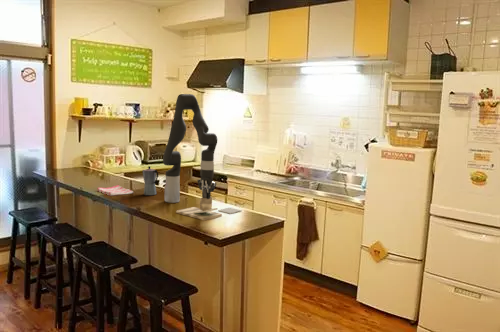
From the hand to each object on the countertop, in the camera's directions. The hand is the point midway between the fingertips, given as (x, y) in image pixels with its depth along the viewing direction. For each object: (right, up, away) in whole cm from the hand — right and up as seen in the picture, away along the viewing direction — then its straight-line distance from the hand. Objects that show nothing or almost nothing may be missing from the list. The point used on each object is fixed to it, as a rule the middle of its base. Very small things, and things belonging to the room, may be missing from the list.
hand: (206, 198), depth 240 cm
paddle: (0, -7, +1) cm, 7 cm away
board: (-5, -10, +5) cm, 12 cm away
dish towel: (-72, -1, +60) cm, 94 cm away
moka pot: (-45, -2, +56) cm, 72 cm away
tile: (-1, -7, +1) cm, 7 cm away
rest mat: (+13, -9, +15) cm, 22 cm away
